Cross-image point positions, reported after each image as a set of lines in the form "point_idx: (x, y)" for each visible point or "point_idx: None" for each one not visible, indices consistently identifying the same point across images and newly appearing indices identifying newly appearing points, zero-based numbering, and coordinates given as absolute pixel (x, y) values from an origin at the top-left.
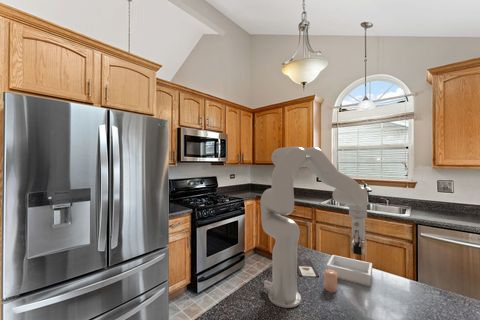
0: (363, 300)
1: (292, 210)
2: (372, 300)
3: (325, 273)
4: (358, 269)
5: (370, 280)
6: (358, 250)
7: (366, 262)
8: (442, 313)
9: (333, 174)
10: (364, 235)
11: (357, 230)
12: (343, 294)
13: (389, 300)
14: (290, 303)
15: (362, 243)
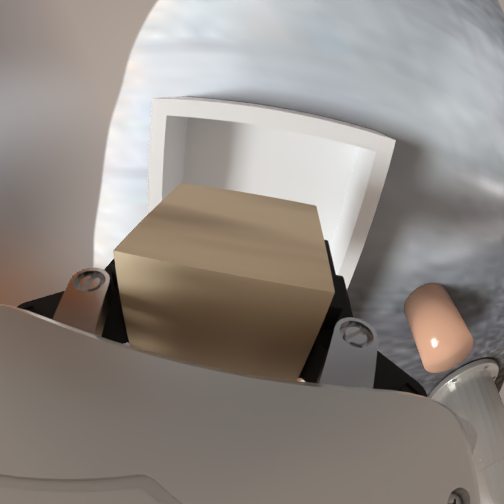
0: (486, 194)
1: None
2: (481, 156)
3: (451, 366)
4: (183, 173)
5: (374, 131)
6: (345, 299)
7: (158, 137)
8: None
9: None
10: (320, 485)
11: None
12: (457, 262)
13: (463, 79)
14: (494, 373)
15: (258, 304)
